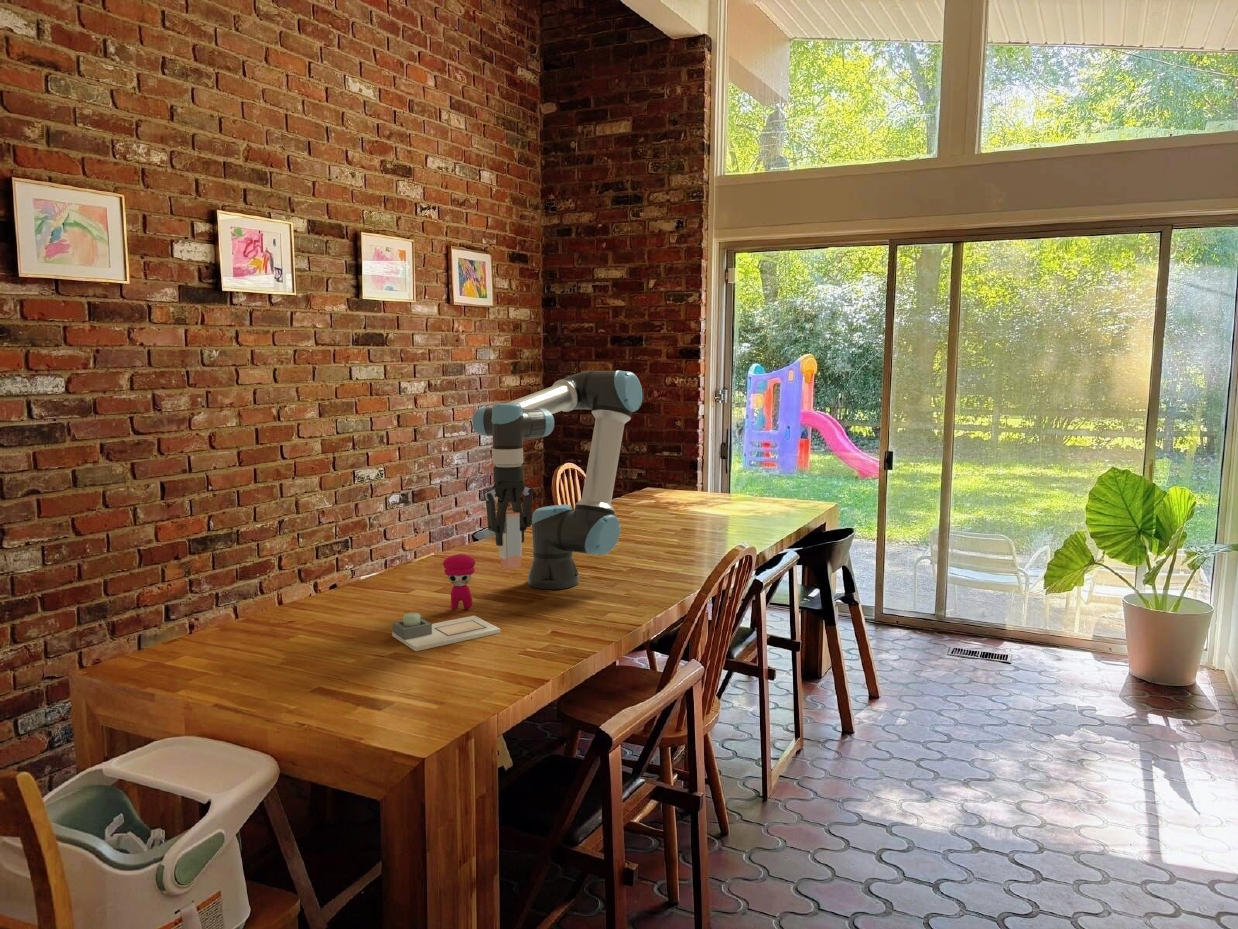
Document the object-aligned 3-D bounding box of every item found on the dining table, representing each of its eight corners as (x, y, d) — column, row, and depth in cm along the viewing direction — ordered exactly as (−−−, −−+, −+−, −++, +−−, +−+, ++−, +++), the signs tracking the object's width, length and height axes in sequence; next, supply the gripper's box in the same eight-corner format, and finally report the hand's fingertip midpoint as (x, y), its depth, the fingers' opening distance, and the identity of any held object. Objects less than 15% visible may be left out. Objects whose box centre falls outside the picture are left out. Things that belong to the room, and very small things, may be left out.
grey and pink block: (513, 564, 226) (512, 510, 224) (520, 567, 223) (519, 512, 221) (500, 566, 224) (499, 512, 222) (508, 569, 221) (506, 514, 219)
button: (416, 623, 215) (416, 611, 215) (423, 627, 212) (422, 615, 212) (401, 626, 213) (400, 614, 212) (407, 631, 210) (407, 618, 209)
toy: (445, 615, 230) (443, 559, 228) (443, 606, 238) (441, 552, 236) (478, 612, 232) (476, 557, 231) (475, 604, 240) (473, 550, 238)
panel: (474, 619, 227) (474, 606, 226) (500, 632, 215) (500, 619, 215) (392, 636, 214) (391, 622, 213) (415, 651, 203) (414, 636, 202)
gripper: (529, 461, 228) (531, 549, 231) (471, 466, 218) (473, 558, 221) (544, 463, 222) (546, 554, 225) (485, 469, 212) (487, 564, 215)
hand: (510, 556), depth 223 cm, fingers closed on grey and pink block, 4 cm apart
